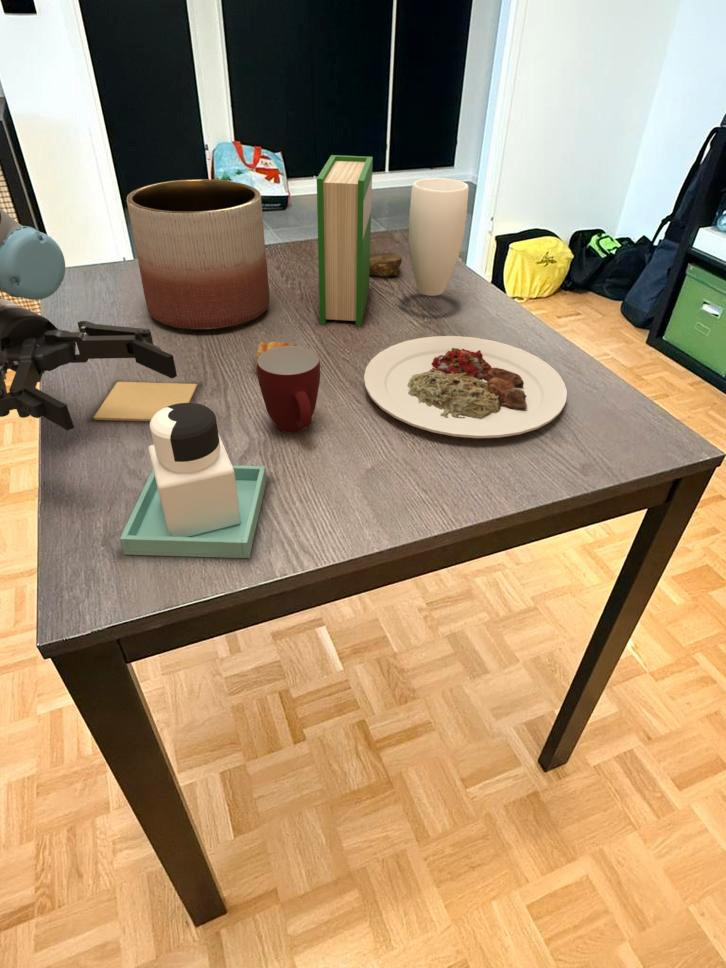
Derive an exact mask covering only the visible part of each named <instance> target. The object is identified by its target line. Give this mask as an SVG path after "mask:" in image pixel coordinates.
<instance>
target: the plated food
mask: <svg viewBox="0 0 726 968" xmlns="http://www.w3.org/2000/svg"><path fill="white" fill-rule="evenodd" d="M363 381H364V386H365V390H366V392H367V394H368V396H369V397H370V399H371V400H372V401H373V402H374V404H376V406H378V407H379V408H380V409H381V410H382V411H383V412H385V413H387V414H388V415H389V416H391V417H393V418H394V419H396V420H399V421H400V422H402V423H405V424H407V425H409V426H412V427H414V428H418V429H421V430H425V431H428V432H430V433H433V434H439V435H445V436H451V437H455V438H470V439H471V438H472V439H493V438H495V439H496V438H498V439H499V438H505V437H512V436H518V435H522V434H525V433H529V432H532V431H535V430H538V429H540V428H542V427H544V426H545V425H547V424H549V423H551V422H553V420H555V418H557V417H558V416H559V415H560V414H561V413H562V411H563V409H564V407H565V405H566V403H567V397H568V390H567V388H566V384H565V382H564V380H563V378H562V377H561V375H560V374H559V372H558V371H557V370H555V369H554V368H553V367H552V366H551V365H550V364H549V363H548V362H546V361H544V360H543V359H541V358H540V357H538V356H537V355H534V354H533V353H530V352H528V351H526V350H524V349H521V348H519V347H516V346H514V345H511V344H508V343H504V342H501V341H496V340H492V339H487V338H481V337H480V338H479V337H472V336H460V335H435V336H426V337H425V336H424V337H419V338H413V339H409V340H404V341H402V342H398V343H397V344H394V345H391V346H389V347H387V348H385V349H383V350H381V351H380V352H378V353H377V354H376V355H375V356H374V357H372V359H371V360H370V361H369V362H368V364H367V366H366V367H365V370H364V375H363Z"/></svg>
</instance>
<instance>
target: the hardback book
mask: <svg viewBox="0 0 726 968" xmlns="http://www.w3.org/2000/svg"><path fill="white" fill-rule="evenodd" d="M373 160H374V159H373V156H359V155H358V156H357V155H339V154H337V155H336V154H335V155H334V154H331V155H330V156H329V158H328V160H327V162H326V163H325V164H324V166H323V168H322V169H321V171H320V172H319V174H318V176H317V177H316V209H317V210H316V211H317V214H316V215H317V253H318V256H317V257H318V295H319V299H318V300H319V324H320V325H326V323H327V320H334V321H352V322H355V326H356V327H362V324H363V318H364V314H365V309H366V305H367V300H368V295H369V291H370V274H369V270H370V254H371V235H372V233H371V230H372V198H373V197H372V193H373Z"/></svg>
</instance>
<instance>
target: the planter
mask: <svg viewBox="0 0 726 968" xmlns="http://www.w3.org/2000/svg"><path fill="white" fill-rule="evenodd" d="M262 204H263V203H262V194H261V192H260V191H259V190H258V189H257V188H255V187H253V186H252V185H248V184H246V183H242V182H237V181H231V180H224V179H208V178H207V179H206V178H204V179H203V178H199V179H197V178H196V179H195V178H192V179H178V180H168V181H161V182H157V183H152V184H148V185H144V186H142V187H139V188H136V189H134V190H132V191H131V192H130V193H128V194H127V196H126V206H127V210H128V215H129V221H130V226H131V229H132V230H131V231H132V235H133V236H132V237H133V241H134V247H135V251H136V257H137V261H138V268H139V273H140V279H141V285H142V289H143V295H144V301H145V305H146V308H147V311H148V313H149V315H150V316H151V317H152V318H153V319H154V320H156V321H158V322H159V323H161V324H163V325H165V326H168V327H170V328H174V329H177V330H180V331H181V330H182V331H189V332H217V331H224V330H229V329H234V328H237V327H240V326H243V325H246V324H248V323H251V322H252V321H254V320H256V319H257V318H259V317H260V316H261V315H262V314H264V313H265V312H266V310H267V309H268V308H269V305H270V283H269V276H268V275H269V274H268V263H267V251H266V240H265V229H264V217H263V205H262Z"/></svg>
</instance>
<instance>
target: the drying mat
mask: <svg viewBox="0 0 726 968" xmlns="http://www.w3.org/2000/svg"><path fill="white" fill-rule="evenodd" d="M197 388H198V383H175V382H145V381H143V382H142V381H140V382H139V381H116V383H115V384H114V386H113V388H112V389H111V390H110V392H109V393H108V395H107V396H106V398H105V399H104V401H103V403H102V404H101V405H100V407H99V409H98V410H97V412H96V413H95V414H94V416H93V420H94V421H121V422H122V421H124V422H125V421H126V422H150V421H151V419H152V418H153V416H154V415H155V414H156V413H157V412H158V411H160V410H161V409H163V408H165V407H167V406H170V405H174V404H179V403H191V401H192V399H193V397H194V395H195V393H196V390H197Z"/></svg>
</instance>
